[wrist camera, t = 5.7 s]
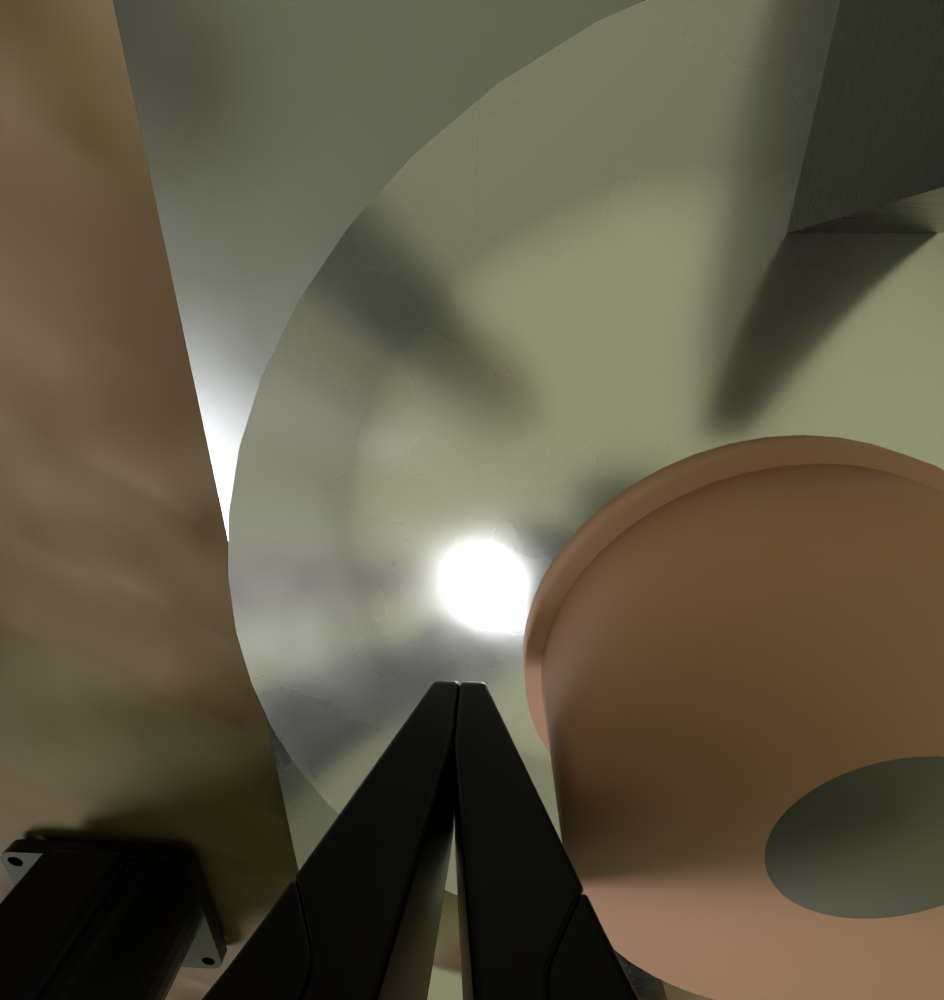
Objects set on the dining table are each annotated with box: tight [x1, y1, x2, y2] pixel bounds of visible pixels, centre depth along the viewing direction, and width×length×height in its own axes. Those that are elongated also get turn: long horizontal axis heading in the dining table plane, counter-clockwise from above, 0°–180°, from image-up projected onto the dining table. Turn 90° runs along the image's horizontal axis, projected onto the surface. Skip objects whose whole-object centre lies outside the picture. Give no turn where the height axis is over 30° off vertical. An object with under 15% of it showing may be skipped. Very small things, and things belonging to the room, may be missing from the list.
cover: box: [523, 435, 944, 1000], centre depth 7 cm, size 9×9×4 cm
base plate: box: [113, 0, 645, 871], centre depth 11 cm, size 22×22×1 cm
